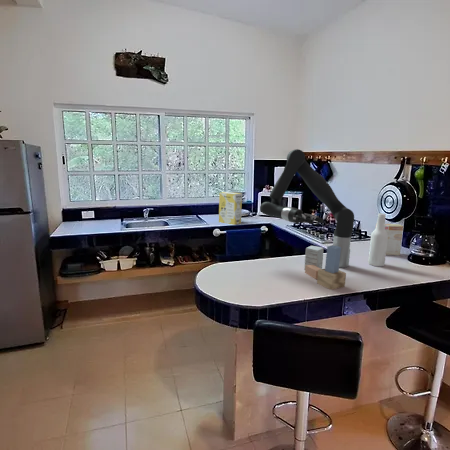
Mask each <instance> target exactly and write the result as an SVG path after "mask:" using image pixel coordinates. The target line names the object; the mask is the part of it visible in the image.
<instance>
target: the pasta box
mask: <svg viewBox="0 0 450 450" xmlns="http://www.w3.org/2000/svg"><path fill="white" fill-rule="evenodd" d="M218 197H219V200H218V202H219V203H218V223H220V222H221V224H227V225H233V226H235V225H239V224H242V203H243V193H242V192H230V191H223V192H219V196H218Z"/></svg>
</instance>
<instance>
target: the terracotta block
mask: <svg viewBox="0 0 450 450" xmlns="http://www.w3.org/2000/svg"><path fill="white" fill-rule="evenodd" d="M304 268H305V270H304V273H305V274H306V275H308V276H309V277H311V278H312V279H314V280H317V277H318V270H320V268H318V267H317V266H315V265H306V266H305V265H304Z"/></svg>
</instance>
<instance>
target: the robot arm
mask: <svg viewBox="0 0 450 450" xmlns="http://www.w3.org/2000/svg"><path fill="white" fill-rule="evenodd" d="M296 173H298V174H299V176H300V177H301V179H302V180H303V181H304V183H305V184H306V185H307V187H308V188H309V190H311V192H312V194H314V196H316V198H317V199H318V200H320V202H322V203H323V204H324V205H325V207H326V208H327V209H328V210H329V211H330V213H331V214H332V216H333V217H334V219H335V220H336V223H335V225H336V226H335V230H334V231H333V238H332V239H333V241H332V245H334V246H338V247H341V253H340V262H339V268H347V267H349V265H350V258H351V257H350V255H351V241H352V233H353V231H354V225H355V224H354V223H355V214H354V212H353V210H351V209H350V208H348V207H347V206H346V205H345V204H344V203H342V202H341V201H340V199H339V198H338V197H337V195H336V193H335V192H334V190H333V188H332V187H331V186H330V184H329V183H328V182H327V180H326V179H325V178H324V177H323V176H322V175H321V174H320V173H319V172H317V171H316V170H315V169H314V168H312V166H311V165H310V164H309V163H308V162H307V160H306V155H305V153H304V151H303V150H301V149H298V148H297V149H293V150H291V151H289V152H288V153H287V156H286V164H285V167H284V169H283V171H282V173H281V174H280V176H279V177H278V179H277V181H276V182H275V184H274V186H273V187H272V189H271V191H270V193H269V198H270V199H271V201H264V202H262V203H261V204H260V206H259V210H260V212H261V213H262V214H264V215H266V216H268V217H270V218H272V217H275V218H277V219H279V220H284V221H286V222H290V223H293V224H302V223H304V224H305V223H306V224H309V225H312V224H314V222H317V223H319V224H323V223H324V217H323V218H322V217H320V216H318V215H314V214H310V213H304V212H303V209H299V208H296V207H291V206H284V205H281V201H282V198H283V197H284V195H285V193H286V192H287V189H288V188H289V185H290V184H291V181H292V179H293V178H294V176H295V174H296Z"/></svg>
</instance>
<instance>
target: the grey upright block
mask: <svg viewBox="0 0 450 450" xmlns="http://www.w3.org/2000/svg"><path fill="white" fill-rule="evenodd" d="M304 255H305V256H304V267H303V268H304V269H303V270H304V271H305V266H306V265H315V266H317V267H318V268H320V269H323V260H324V247H321V246H316V245H310V246H308V247H306V248H305V254H304Z"/></svg>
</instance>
